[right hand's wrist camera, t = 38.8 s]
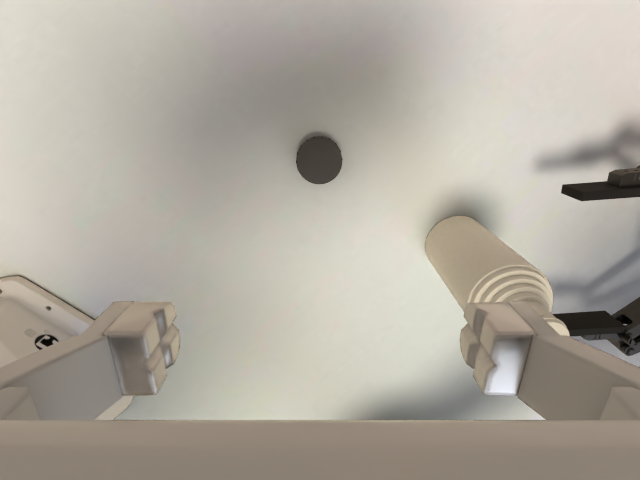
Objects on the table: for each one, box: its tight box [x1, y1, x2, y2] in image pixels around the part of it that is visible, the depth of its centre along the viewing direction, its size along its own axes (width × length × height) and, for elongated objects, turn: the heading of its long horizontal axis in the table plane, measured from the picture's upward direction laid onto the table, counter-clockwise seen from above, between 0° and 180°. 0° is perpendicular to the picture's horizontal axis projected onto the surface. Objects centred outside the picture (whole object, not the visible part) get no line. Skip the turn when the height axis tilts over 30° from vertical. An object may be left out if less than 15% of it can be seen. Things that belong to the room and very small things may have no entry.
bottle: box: [425, 216, 570, 337], centre depth 32 cm, size 7×7×17 cm
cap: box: [296, 136, 342, 184], centre depth 36 cm, size 4×4×2 cm
